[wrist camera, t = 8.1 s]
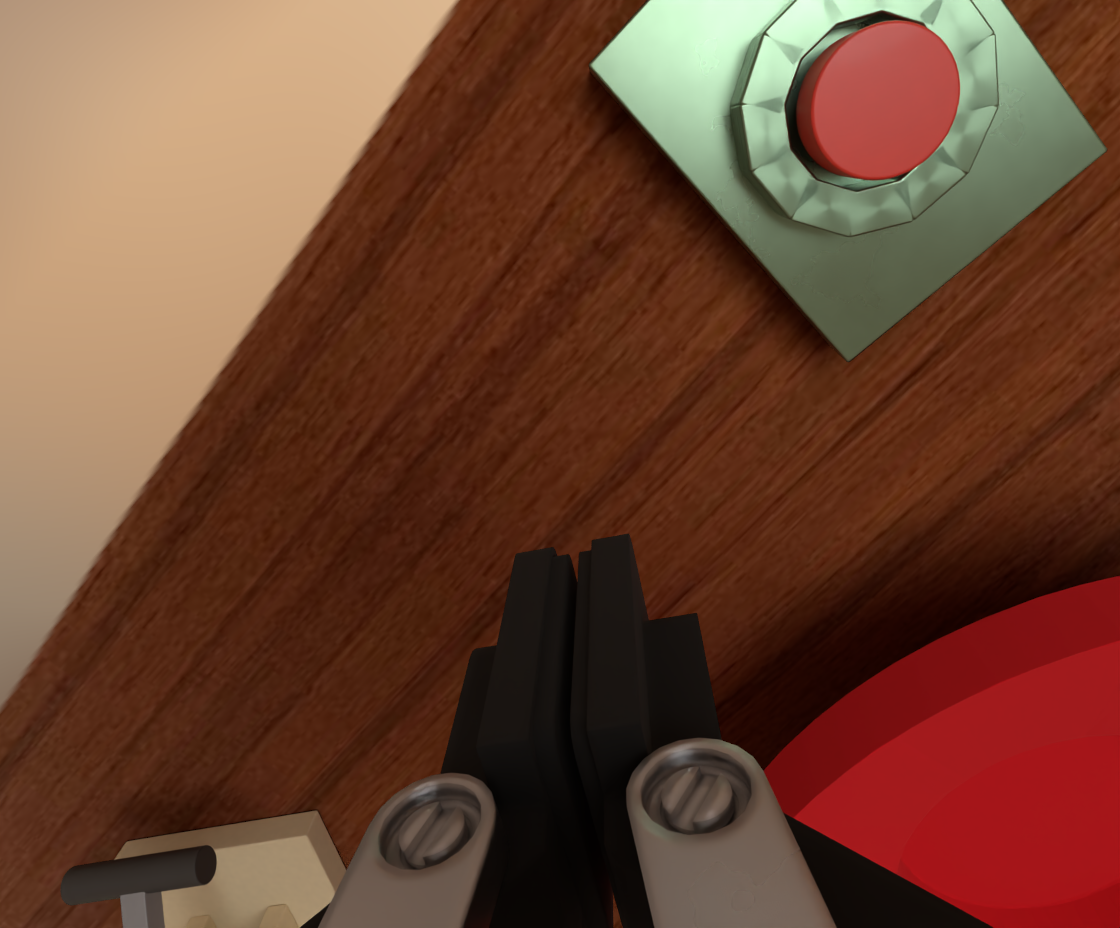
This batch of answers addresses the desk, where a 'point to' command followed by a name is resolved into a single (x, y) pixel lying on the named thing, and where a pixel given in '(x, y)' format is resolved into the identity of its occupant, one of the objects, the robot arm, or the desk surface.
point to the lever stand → (253, 873)
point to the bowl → (983, 765)
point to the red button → (878, 101)
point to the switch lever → (140, 882)
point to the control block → (832, 200)
